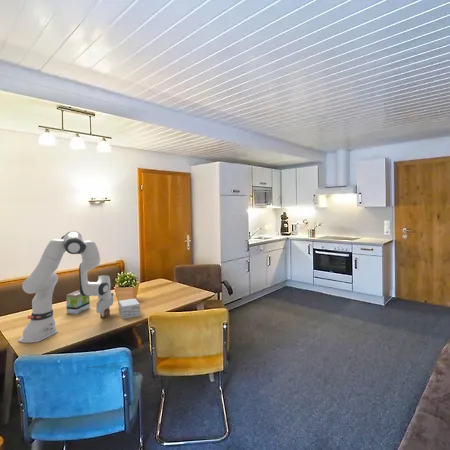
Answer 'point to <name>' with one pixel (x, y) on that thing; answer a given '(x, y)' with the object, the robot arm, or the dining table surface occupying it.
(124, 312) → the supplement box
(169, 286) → the dining table surface
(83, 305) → the tea box
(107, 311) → the walnut block
